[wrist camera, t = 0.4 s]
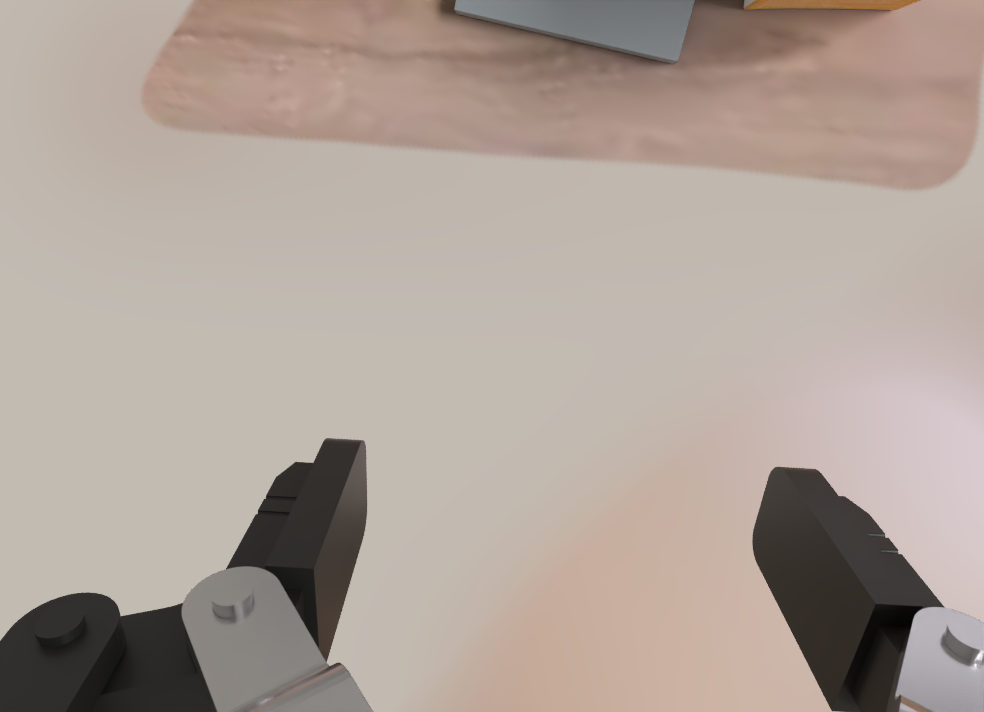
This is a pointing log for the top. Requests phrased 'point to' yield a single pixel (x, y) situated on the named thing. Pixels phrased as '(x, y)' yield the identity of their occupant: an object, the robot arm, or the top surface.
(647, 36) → the base board
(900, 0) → the small box
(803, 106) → the top surface
